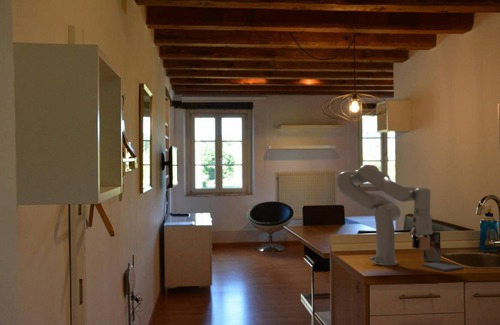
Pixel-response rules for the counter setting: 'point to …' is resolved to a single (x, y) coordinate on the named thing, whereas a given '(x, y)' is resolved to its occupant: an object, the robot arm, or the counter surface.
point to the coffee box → (433, 248)
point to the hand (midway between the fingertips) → (421, 246)
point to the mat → (442, 266)
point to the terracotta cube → (423, 243)
